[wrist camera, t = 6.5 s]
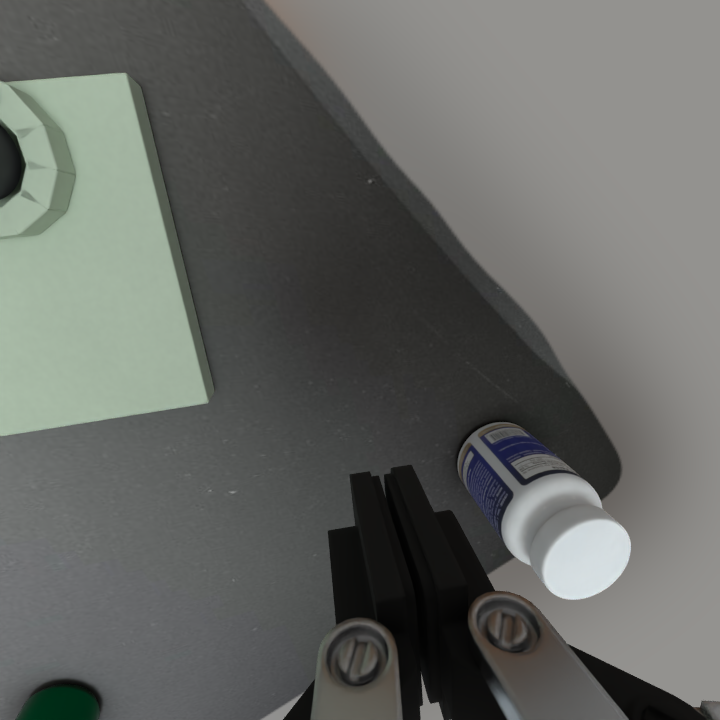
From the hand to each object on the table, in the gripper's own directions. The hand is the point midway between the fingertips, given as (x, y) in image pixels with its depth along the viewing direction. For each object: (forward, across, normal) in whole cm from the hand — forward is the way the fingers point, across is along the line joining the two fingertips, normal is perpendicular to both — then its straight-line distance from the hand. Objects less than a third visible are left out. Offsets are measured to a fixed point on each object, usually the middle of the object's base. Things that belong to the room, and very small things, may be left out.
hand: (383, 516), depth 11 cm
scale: (+15, +14, -7) cm, 22 cm away
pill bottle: (+15, -10, +9) cm, 20 cm away
